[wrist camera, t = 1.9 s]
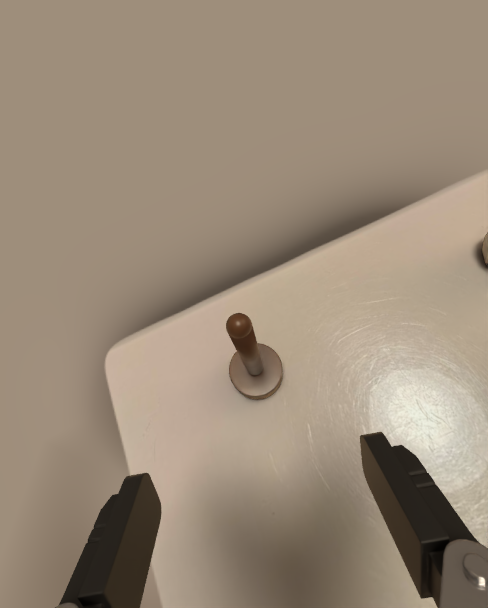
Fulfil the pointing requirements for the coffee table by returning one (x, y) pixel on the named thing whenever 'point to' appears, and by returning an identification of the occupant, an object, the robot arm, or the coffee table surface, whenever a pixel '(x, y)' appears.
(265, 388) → the wooden tamper
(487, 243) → the salt shaker
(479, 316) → the coffee table surface
